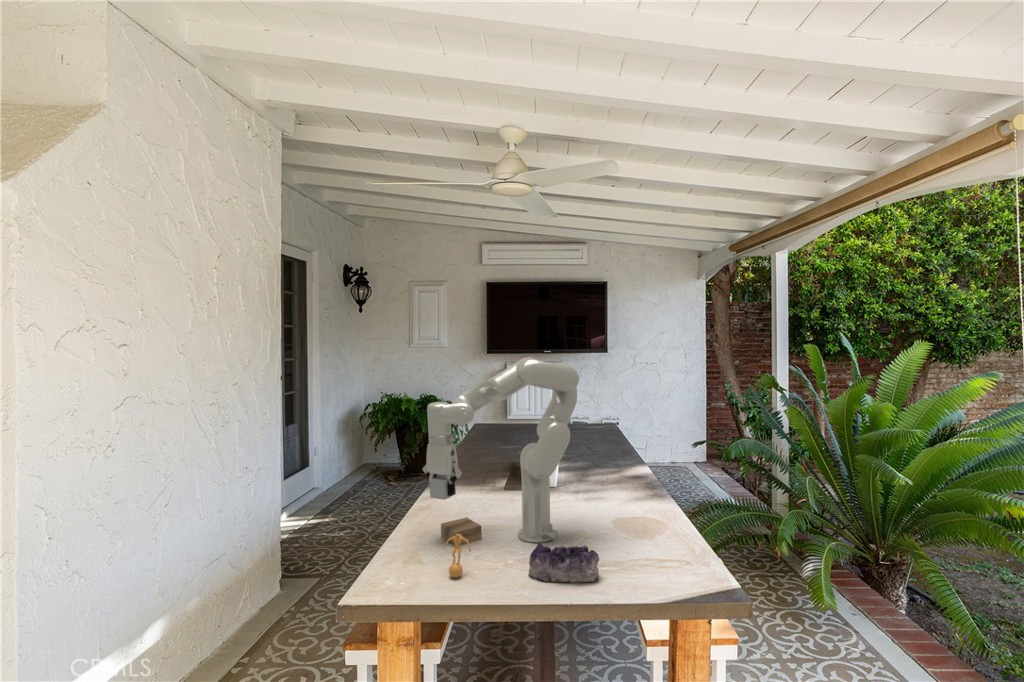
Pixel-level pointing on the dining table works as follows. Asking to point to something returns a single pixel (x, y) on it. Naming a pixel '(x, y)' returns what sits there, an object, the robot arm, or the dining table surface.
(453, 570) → the figurine
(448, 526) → the walnut block
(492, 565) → the dining table surface
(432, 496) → the slate block
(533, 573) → the geode
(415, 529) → the dining table surface
